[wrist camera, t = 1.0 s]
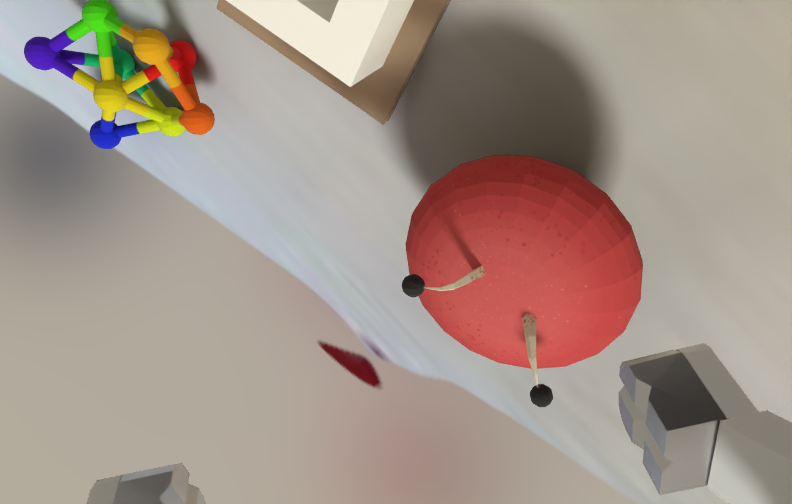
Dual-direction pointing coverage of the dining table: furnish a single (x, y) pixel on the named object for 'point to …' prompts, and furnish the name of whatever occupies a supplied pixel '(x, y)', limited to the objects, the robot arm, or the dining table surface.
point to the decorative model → (126, 75)
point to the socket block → (334, 30)
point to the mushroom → (524, 263)
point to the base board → (383, 84)
